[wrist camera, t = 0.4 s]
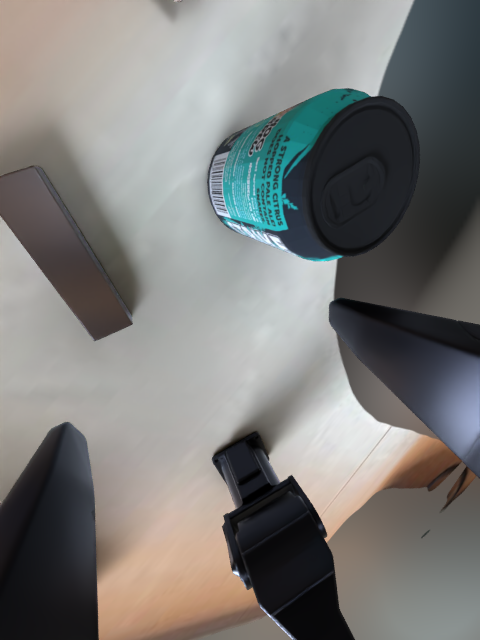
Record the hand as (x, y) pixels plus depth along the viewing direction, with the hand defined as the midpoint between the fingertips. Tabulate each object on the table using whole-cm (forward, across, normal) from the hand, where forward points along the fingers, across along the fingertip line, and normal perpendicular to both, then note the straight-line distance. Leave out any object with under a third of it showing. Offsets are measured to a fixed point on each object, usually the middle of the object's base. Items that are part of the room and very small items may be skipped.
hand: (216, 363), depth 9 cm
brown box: (+14, +6, 0) cm, 16 cm away
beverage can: (+15, -8, -2) cm, 17 cm away
